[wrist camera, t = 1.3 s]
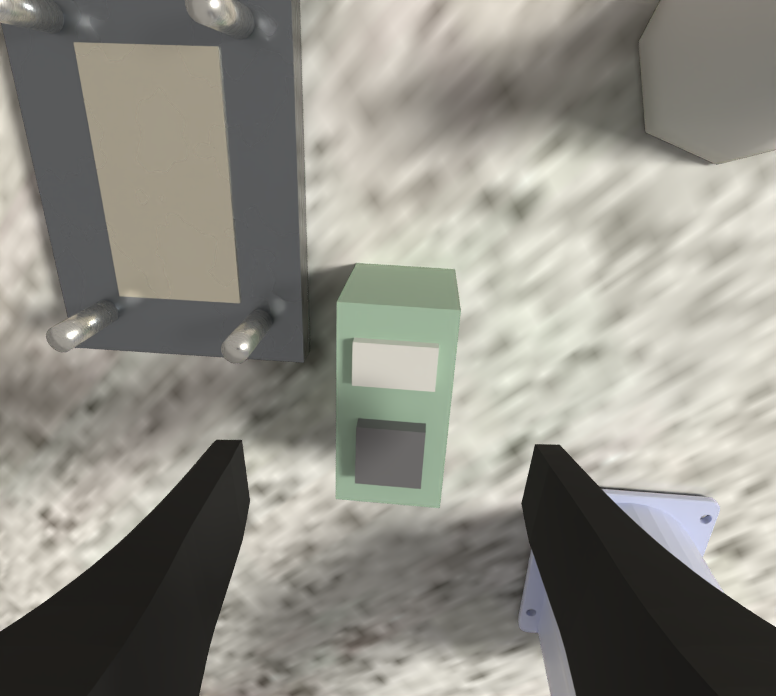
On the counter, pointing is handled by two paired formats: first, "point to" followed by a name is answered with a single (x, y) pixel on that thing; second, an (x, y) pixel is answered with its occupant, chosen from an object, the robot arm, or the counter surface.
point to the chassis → (169, 171)
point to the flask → (711, 77)
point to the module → (394, 382)
